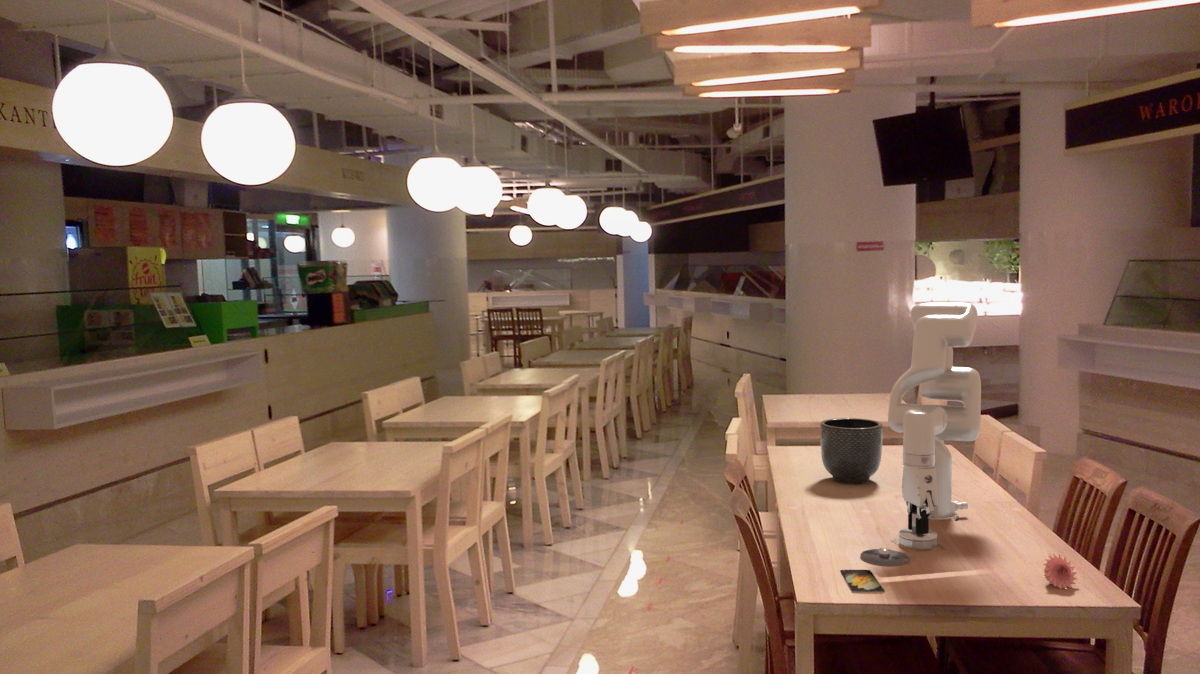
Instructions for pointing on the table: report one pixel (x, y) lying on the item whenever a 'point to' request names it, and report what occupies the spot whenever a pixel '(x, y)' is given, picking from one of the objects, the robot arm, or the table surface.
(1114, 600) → the table surface
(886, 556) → the metal pot lid
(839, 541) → the table surface
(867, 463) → the planter
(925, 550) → the stand
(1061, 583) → the flower
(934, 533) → the metal knob with peg
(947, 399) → the robot arm
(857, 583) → the smartphone
